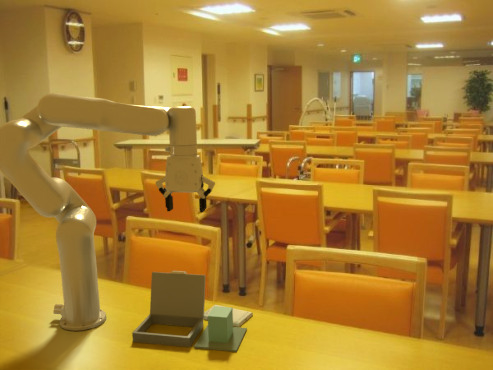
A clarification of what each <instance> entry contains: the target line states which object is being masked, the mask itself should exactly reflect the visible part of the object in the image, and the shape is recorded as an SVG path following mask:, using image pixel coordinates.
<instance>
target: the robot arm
mask: <svg viewBox="0 0 493 370" xmlns="http://www.w3.org/2000/svg"><path fill="white" fill-rule="evenodd" d="M196 113H197V112H196V108H194V107H193V106H190V105H187V106H186V105H184V106H183V105H181V106H177V105H176V106H171V107H166V106H165V107H164V106H159V105H158V106H156V105H151V106H146V105H136V104H128V103H121V102H116V101H113V100H109V99H107V98H101V97H92V96H91V97H90V96H81V95H72V94H66V93H64V94H63V93H59V92H58V93H57V92H56V93H55V92H51V93H46V94H45V95H42V97H40V99H39V101H38V103H37V105H36V106H35V107H34V108H32V109H31V110H30V111H28V112H27V113H25V114H24V115H23V116H21V117H20V118H18V119H13V120H9V121H7V122H6V123H4V124H2V125H1V127H0V172H1V173H2V175H3V176H4V177H5V178H6V179H7V180H8V181H9V182H10V183H11V184H12V186H13V187H14V188H15V189H16V190H17V191H18V193H19V194H20V195H21V196H22V197H23V198H24V199H25V200H26V202H27V203H28V204H29V205H30V206H31V208H32V209H33V210H34V211H35V212H36V213H37V214H39V215H40V216H41V217H44V218H55V220H56V221H57V222H58V224H57V227H56V232H55V239H56V245H57V252H58V257H59V266H60V267H59V268H60V273H61V274H60V275H61V286H62V294H63V295H62V297H63V304H60V303H56V304H55V305H54V306H53V314H54V315H60V316H61V317H60V319H59V326H60V327H61V328H62V329H64V330H67V331H73V332H75V331H76V332H77V331H86V330H90V329H93V328H96V327H99V326H100V325H101V324H103V323H104V322H106V319H107V313H106V312H105V311H104V310H103V309H101V305H100V291H99V279H98V268H97V258H96V256H97V255H96V248H95V239H94V237H95V235H94V233H95V230H96V227H97V217H96V214H95V213H94V211H93V210H92V208H91V206H89V205H88V204H87V202H86V201H85V200H84V199H83V198H82V197H81V196H80V194H78V192H77V191H76V190H75V189H74V188H73V186H71V185H70V184H69V182H68V181H66V180H65V179H62V178H59V177H53V176H50V175H49V174H48V173H47V172H46V171H45V169H44V168H43V167H42V166H41V164H39V162H38V161H37V160H35V159H34V158H33V157H32V156H31V154H30V152H29V151H30V149H33V148H35V147H37V146H38V145H40V144H41V143H42V142H44V141H45V140H46V139H48V138H49V137H50V136H52V135H53V134H55V133H56V132H57V131H58V130H59V129H61V128H62V127H63V128H74V129H75V128H76V129H84V130H94V131H101V132H109V133H110V132H114V133H121V134H131V135H138V136H139V135H140V136H148V137H149V136H150V137H153V136H154V137H156V136H160V135H162V134H164V133H165V132H168V135H169V144H168V145H169V146H165V148H164V150H165V152H168V153H169V155H167V156H166V163H165V176H164V177H162V178H160V179H158V180H156V181H155V186H156V187H157V188H158V192H159V193H161V195H162V196H163V197H164V200H165V208H166V211H167V212H171V211H172V210H174V197H173V195H172V194H173V193H197V195H198V196H199V197H200V198H199V199H198V202H199V203H198V204H199V205H198V206H199V213H201V214H202V213H204V212H205V211H206V209H207V208H208V206H207V197H208V196H209V195H210V194H211V193H212V191H213V190H214V188H215V185H216V182H215V181H213V180H211V179H210V178H207V177H206V176H204V173H203V172H204V171H203V166H202V161H201V157H200V155H198V141H197V140H198V139H197V136H198V135H197V114H196ZM163 184H164V185H165V187H164V185H163ZM205 184H206V185H207V189H206V190H205V189H204V185H205Z"/></svg>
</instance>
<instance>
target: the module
mask: <svg viewBox="0 0 493 370" xmlns="http://www.w3.org/2000/svg"><path fill="white" fill-rule="evenodd" d="M213 306H214V305H213ZM213 306H212V307H213ZM207 325H208V336H209V342H220V343H228V341H229V339H230V337H231V336H232V334H233V327H234V326H233V307H228V306H224V307H218V306H214V307H213V309H212V310H211V312H210V313H209V315H208V320H207Z"/></svg>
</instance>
